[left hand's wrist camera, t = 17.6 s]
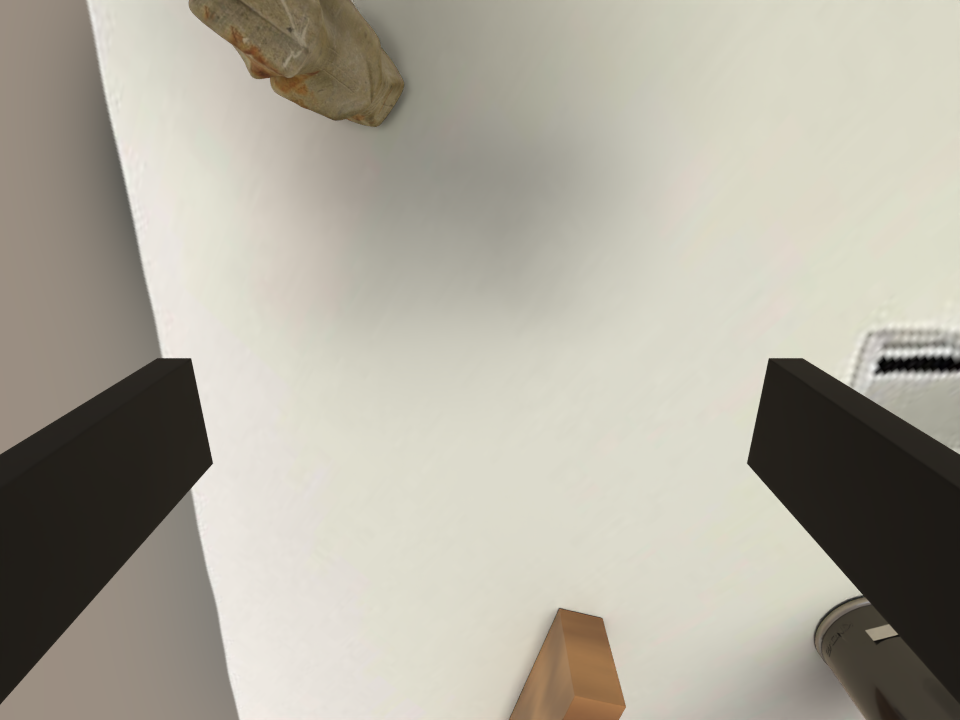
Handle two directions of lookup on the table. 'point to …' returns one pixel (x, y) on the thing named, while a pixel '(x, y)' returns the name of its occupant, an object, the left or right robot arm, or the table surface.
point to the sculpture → (310, 54)
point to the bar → (572, 674)
